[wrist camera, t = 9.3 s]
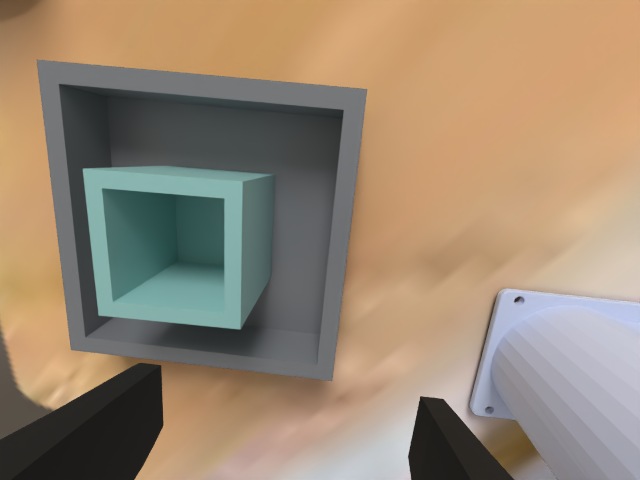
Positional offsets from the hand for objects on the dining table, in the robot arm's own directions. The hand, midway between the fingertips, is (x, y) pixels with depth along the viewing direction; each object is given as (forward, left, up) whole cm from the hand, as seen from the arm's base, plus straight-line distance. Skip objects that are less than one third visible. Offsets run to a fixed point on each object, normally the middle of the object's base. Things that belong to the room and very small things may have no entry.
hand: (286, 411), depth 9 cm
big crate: (+5, -3, -9) cm, 11 cm away
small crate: (+5, -3, -9) cm, 10 cm away
